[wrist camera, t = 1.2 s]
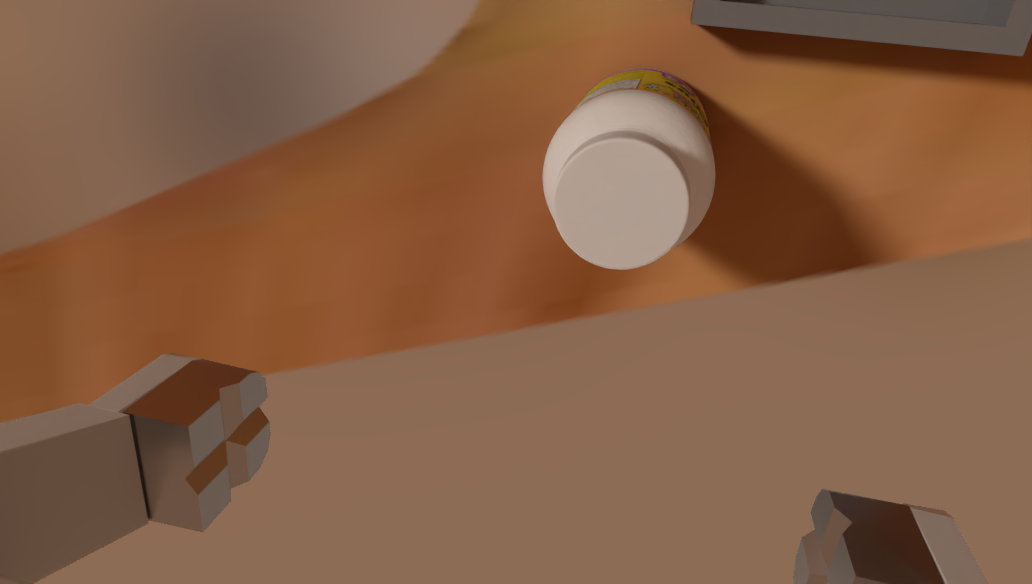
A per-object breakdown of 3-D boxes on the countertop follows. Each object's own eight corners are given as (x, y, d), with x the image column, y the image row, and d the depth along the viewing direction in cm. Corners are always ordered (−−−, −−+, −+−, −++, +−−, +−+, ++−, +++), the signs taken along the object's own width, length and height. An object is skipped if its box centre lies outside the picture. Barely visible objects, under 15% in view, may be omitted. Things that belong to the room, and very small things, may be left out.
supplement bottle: (724, 172, 34) (745, 269, 23) (600, 213, 36) (564, 318, 25) (684, 42, 32) (686, 76, 21) (556, 93, 34) (494, 149, 23)
